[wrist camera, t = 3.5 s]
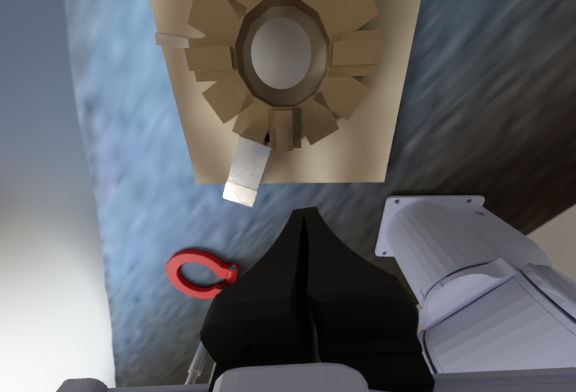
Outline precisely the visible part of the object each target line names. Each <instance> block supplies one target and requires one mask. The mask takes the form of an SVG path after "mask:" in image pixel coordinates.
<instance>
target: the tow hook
mask: <svg viewBox="0 0 576 392" xmlns="http://www.w3.org/2000/svg"><path fill="white" fill-rule="evenodd" d="M188 262H196V263H200V264H203V265H205V266H207V267H209V268H210V269H211V270H212V271H213V272H214V273H215V274H216V276H217V277H220V278H224V281H223V283H222V285H218V284H217V285H215V286H213V287H210V288H201V287H197V286H194V285H192V284H190V283H189V282H187V281H186V280H185V279H184V278H183V277H182V275H181V273H180V266H181V265H182V264H184V263H188ZM238 270H239V266H238V265H237V264H235V263H232V264H230V265H227V264H223V263H222V262H221V261H220V260H219V259H217V258H216V257H214V256H213V255H210V254H208V253H206V252H202V251H198V250H184V251H180V252H178V253H176V254H175V255H174V256H173V257H172V258H171V259H170V260H169V261H168V263H167V266H166V273H167V276H168V278H169V280H170V281H171V283H172V284H173V285H174V286H175V287H176V288H177V289H178V290H180V291H182V292H183V293H185V294H187V295H190V296H192V297H196V298H200V299H211V298H214V297H215V295H217V294H218V293H220V292H221V291H223V290H224V289H225V288H227V287H228V286H230V285H231V284H233V283H234V282H235V281H237V274H238ZM207 355H208V352H207V350H206V349H205V347H204V346H203V344H202V342H200V344H199V346H198V349H197V351H196V354H195V356H194V358H193V361H192V363H191V365H190V368H189V370H188V373H189V376H188V378H187V381H186V383H185V385H193V384H195V381H196V378H197V376H199V375H200V374H201V371H202V369H203V366H204V363H205V361H206V358H207Z"/></svg>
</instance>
